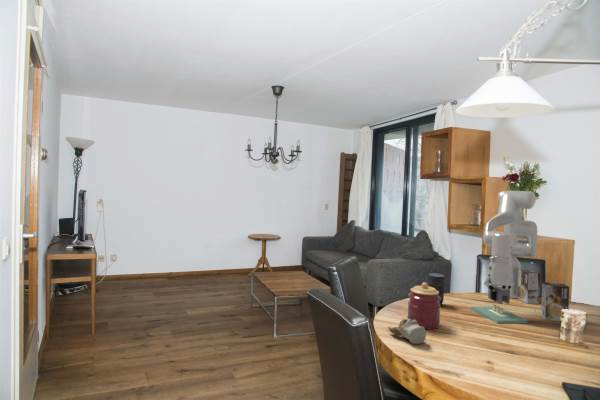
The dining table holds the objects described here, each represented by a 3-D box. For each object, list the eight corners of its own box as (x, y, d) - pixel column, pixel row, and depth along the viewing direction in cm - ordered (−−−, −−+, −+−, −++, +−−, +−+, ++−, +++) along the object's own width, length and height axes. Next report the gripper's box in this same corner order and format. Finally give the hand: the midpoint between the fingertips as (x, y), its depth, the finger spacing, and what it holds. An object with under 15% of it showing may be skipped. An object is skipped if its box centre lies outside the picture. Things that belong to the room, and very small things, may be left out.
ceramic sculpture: (409, 323, 134) (386, 312, 148) (409, 348, 133) (386, 335, 147) (435, 321, 137) (410, 311, 151) (434, 345, 137) (409, 333, 151)
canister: (403, 326, 156) (405, 283, 156) (410, 317, 168) (412, 277, 167) (437, 332, 150) (439, 287, 150) (441, 323, 162) (443, 281, 161)
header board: (471, 309, 184) (471, 300, 184) (498, 309, 186) (498, 300, 186) (497, 323, 164) (497, 313, 164) (527, 323, 166) (527, 313, 166)
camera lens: (426, 305, 186) (427, 275, 186) (425, 301, 194) (427, 272, 194) (444, 308, 184) (445, 277, 184) (442, 303, 192) (444, 273, 192)
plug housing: (487, 298, 179) (488, 285, 179) (496, 298, 179) (497, 285, 179) (500, 303, 170) (500, 290, 170) (509, 303, 170) (510, 290, 170)
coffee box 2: (563, 318, 175) (564, 283, 174) (568, 322, 168) (570, 286, 168) (540, 315, 177) (541, 281, 177) (544, 320, 171) (546, 284, 171)
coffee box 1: (539, 304, 197) (541, 273, 197) (526, 303, 197) (528, 272, 197) (529, 299, 206) (530, 269, 206) (517, 298, 206) (518, 269, 206)
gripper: (488, 260, 170) (486, 301, 170) (523, 261, 172) (521, 302, 172) (478, 258, 177) (476, 297, 177) (511, 259, 179) (510, 297, 179)
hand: (498, 299), depth 175 cm, fingers closed on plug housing, 4 cm apart
